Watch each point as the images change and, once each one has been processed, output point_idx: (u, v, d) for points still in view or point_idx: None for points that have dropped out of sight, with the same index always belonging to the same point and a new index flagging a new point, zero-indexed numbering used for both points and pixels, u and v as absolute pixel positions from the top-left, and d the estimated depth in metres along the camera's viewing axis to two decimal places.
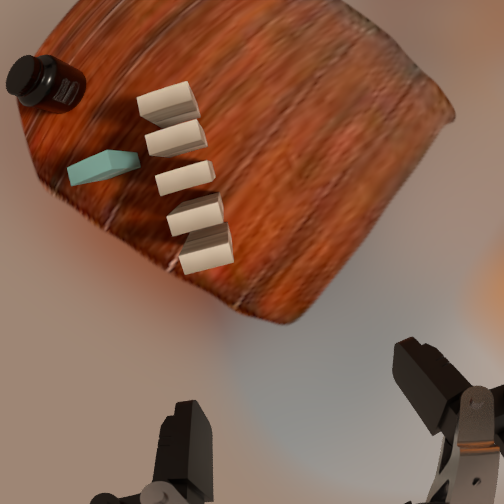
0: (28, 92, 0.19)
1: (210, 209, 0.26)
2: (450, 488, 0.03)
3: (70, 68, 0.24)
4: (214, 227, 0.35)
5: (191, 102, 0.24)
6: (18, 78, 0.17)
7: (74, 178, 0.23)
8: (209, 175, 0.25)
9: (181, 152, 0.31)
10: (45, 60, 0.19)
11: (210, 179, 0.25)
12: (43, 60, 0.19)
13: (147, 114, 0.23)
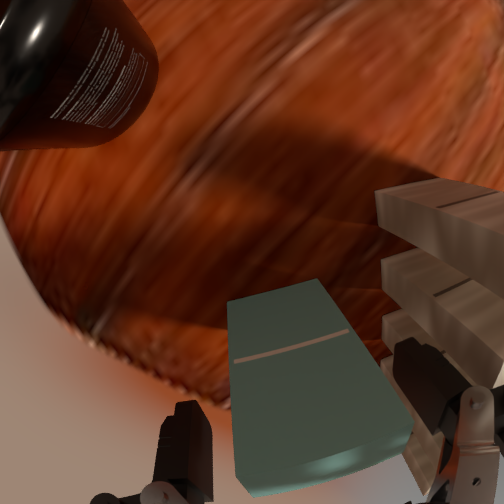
0: None
1: None
2: (450, 488, 0.03)
3: (125, 4, 0.06)
4: None
5: None
6: None
7: (268, 489, 0.06)
8: None
9: None
10: None
11: None
12: None
13: None
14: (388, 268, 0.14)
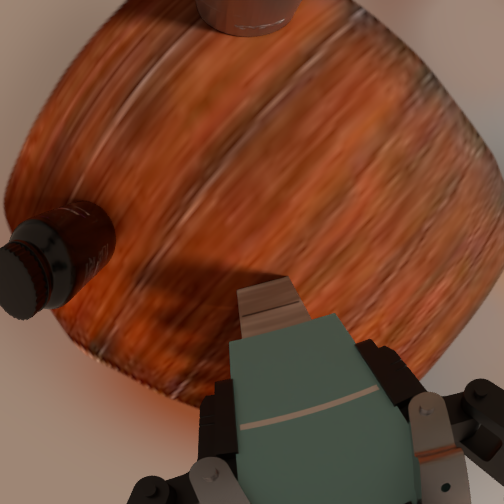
0: (39, 310, 0.14)
1: None
2: (418, 498, 0.03)
3: (88, 229, 0.19)
4: None
5: None
6: (12, 294, 0.12)
7: None
8: None
9: None
10: (45, 244, 0.14)
11: None
12: (41, 244, 0.14)
13: None
14: None
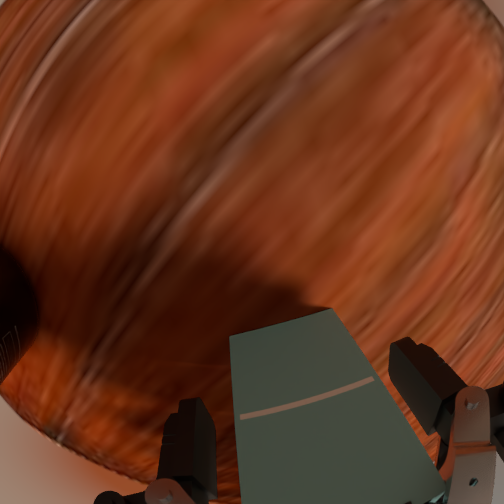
0: None
1: None
2: (447, 489, 0.03)
3: None
4: None
5: None
6: None
7: None
8: None
9: None
10: None
11: None
12: None
13: None
14: None
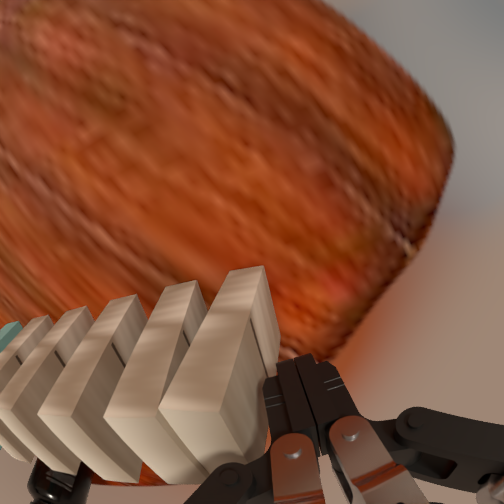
0: None
1: (127, 432, 0.07)
2: None
3: (38, 461, 0.16)
4: None
5: None
6: None
7: None
8: (61, 418, 0.07)
9: None
10: (31, 494, 0.12)
11: (68, 418, 0.07)
12: (32, 496, 0.12)
13: (26, 453, 0.09)
14: None
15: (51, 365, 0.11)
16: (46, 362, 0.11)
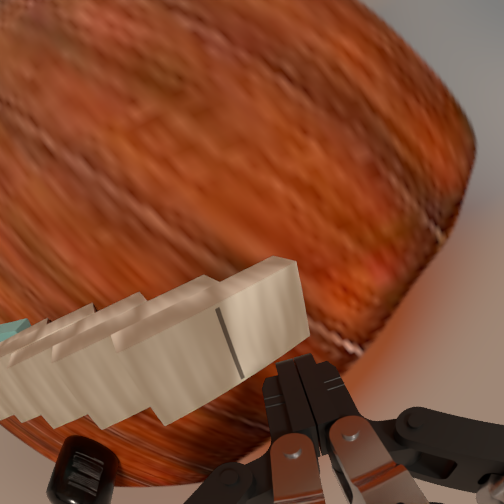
0: None
1: None
2: None
3: (58, 465, 0.16)
4: None
5: None
6: None
7: None
8: (9, 365, 0.10)
9: None
10: (51, 501, 0.12)
11: (8, 368, 0.10)
12: (52, 503, 0.12)
13: None
14: None
15: None
16: None
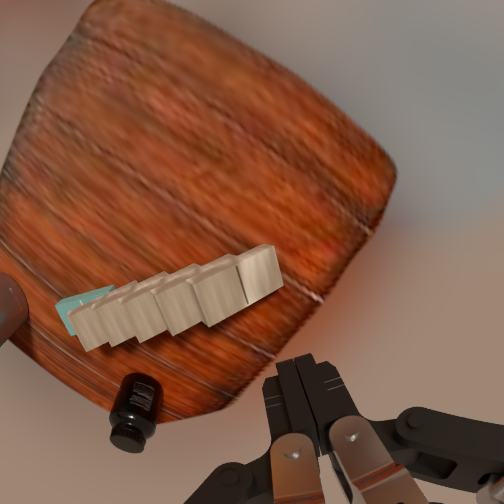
0: (142, 436, 0.29)
1: (153, 298, 0.28)
2: None
3: (121, 393, 0.33)
4: None
5: (74, 315, 0.27)
6: (129, 445, 0.28)
7: None
8: None
9: None
10: (114, 421, 0.29)
11: (120, 305, 0.27)
12: (114, 422, 0.29)
13: (86, 346, 0.29)
14: None
15: None
16: None
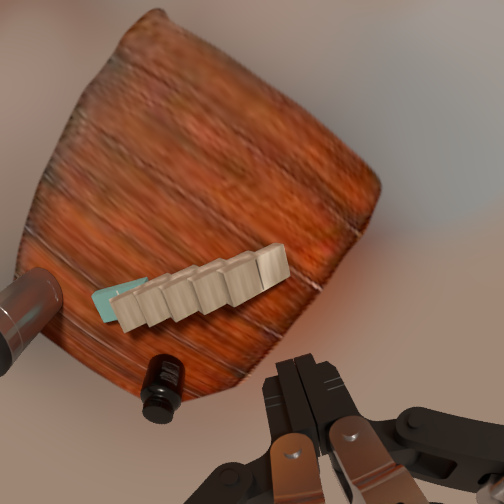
0: (171, 406, 0.37)
1: (190, 285, 0.37)
2: None
3: (150, 371, 0.41)
4: None
5: (116, 301, 0.36)
6: (160, 415, 0.36)
7: None
8: (161, 290, 0.36)
9: None
10: (146, 395, 0.37)
11: (162, 290, 0.35)
12: (146, 396, 0.37)
13: (124, 328, 0.37)
14: None
15: None
16: None
